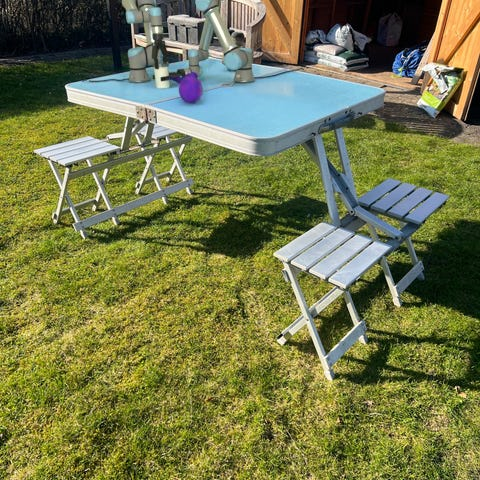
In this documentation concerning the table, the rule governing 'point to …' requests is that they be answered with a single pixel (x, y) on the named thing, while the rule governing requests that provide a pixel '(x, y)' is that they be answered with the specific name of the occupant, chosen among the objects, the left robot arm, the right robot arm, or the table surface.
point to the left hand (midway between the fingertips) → (161, 67)
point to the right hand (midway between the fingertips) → (156, 78)
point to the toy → (189, 87)
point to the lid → (162, 64)
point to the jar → (161, 73)
